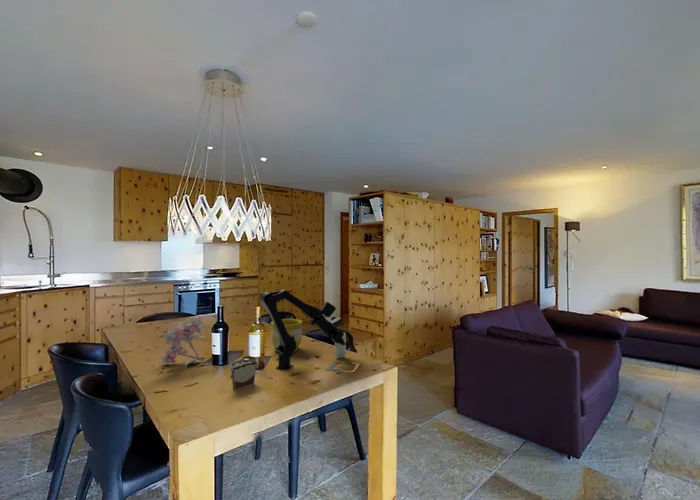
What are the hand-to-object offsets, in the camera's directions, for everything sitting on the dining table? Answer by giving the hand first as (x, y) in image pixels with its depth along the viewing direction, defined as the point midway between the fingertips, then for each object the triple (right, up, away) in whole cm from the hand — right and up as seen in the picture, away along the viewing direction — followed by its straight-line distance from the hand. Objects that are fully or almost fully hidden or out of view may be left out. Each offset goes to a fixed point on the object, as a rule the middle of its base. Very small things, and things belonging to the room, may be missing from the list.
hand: (342, 343), depth 191 cm
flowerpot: (-33, -8, +14) cm, 37 cm away
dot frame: (+1, -8, -15) cm, 17 cm away
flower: (-82, -8, -13) cm, 84 cm away
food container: (-43, -8, -39) cm, 58 cm away
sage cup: (-1, -6, -1) cm, 7 cm away
